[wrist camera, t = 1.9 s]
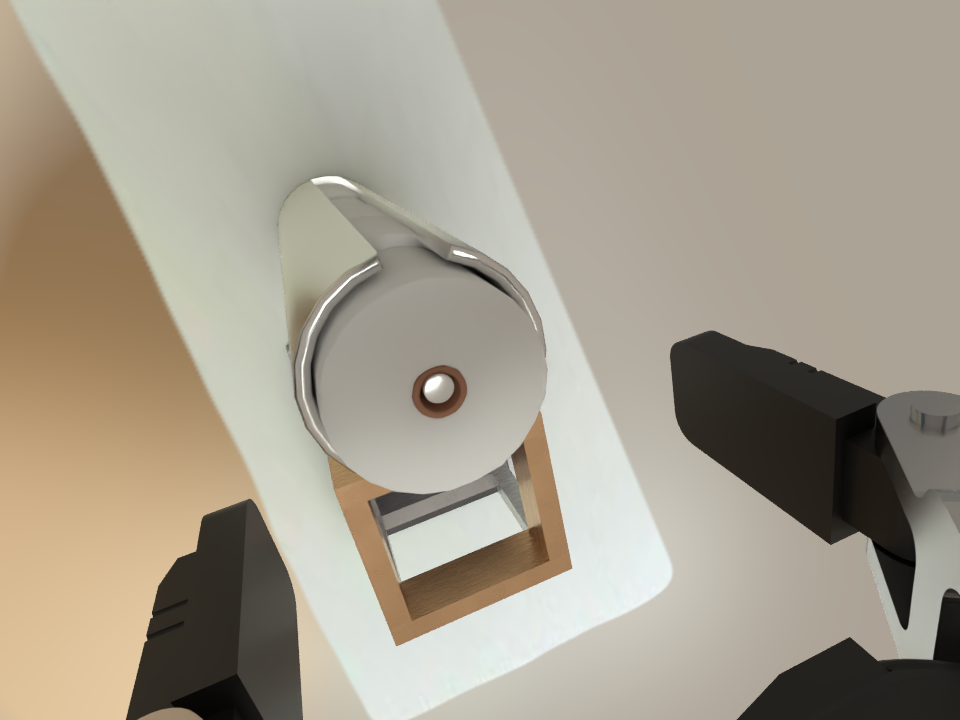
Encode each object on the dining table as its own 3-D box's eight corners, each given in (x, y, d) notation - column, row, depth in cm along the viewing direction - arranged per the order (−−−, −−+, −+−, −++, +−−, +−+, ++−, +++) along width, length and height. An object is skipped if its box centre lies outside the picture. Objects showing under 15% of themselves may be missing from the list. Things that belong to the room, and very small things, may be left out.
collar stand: (286, 345, 37) (295, 445, 25) (462, 289, 40) (546, 356, 28) (361, 537, 44) (396, 687, 32) (508, 478, 47) (591, 598, 35)
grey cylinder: (402, 203, 37) (608, 310, 15) (363, 298, 38) (497, 529, 16) (300, 156, 34) (360, 200, 12) (261, 260, 35) (251, 476, 13)
